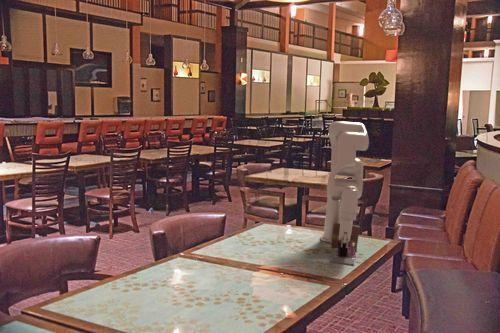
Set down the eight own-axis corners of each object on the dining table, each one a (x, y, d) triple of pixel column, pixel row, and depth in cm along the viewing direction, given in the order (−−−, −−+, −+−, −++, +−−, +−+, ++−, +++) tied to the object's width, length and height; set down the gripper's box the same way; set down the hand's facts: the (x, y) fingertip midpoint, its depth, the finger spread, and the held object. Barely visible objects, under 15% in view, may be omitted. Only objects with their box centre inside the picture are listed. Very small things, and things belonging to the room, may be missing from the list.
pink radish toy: (338, 242, 231) (355, 242, 234) (332, 243, 236) (349, 242, 239) (339, 257, 230) (356, 257, 233) (333, 257, 235) (350, 257, 238)
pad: (331, 257, 231) (331, 255, 231) (354, 260, 229) (354, 259, 229) (330, 262, 223) (330, 260, 223) (353, 265, 221) (353, 264, 221)
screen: (331, 246, 247) (333, 222, 246) (356, 250, 245) (359, 225, 244) (330, 248, 245) (333, 223, 244) (356, 251, 243) (359, 226, 242)
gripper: (339, 210, 241) (335, 248, 243) (338, 218, 224) (334, 258, 226) (356, 212, 239) (352, 250, 242) (356, 220, 223) (351, 260, 225)
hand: (343, 254), depth 234 cm, fingers closed on pink radish toy, 5 cm apart
